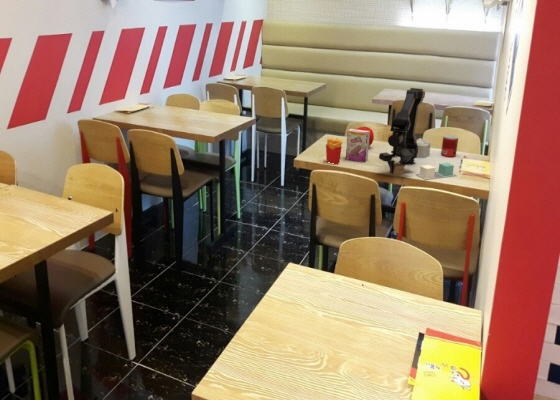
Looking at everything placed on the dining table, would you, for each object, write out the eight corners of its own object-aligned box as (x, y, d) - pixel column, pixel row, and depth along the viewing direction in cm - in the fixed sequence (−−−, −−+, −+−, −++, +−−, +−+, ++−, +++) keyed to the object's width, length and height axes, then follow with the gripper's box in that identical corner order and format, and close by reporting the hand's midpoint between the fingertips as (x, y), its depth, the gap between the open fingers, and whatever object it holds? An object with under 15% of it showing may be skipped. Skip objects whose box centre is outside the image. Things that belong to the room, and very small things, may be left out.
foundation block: (419, 175, 266) (420, 165, 264) (428, 174, 267) (429, 164, 265) (425, 178, 261) (426, 168, 259) (434, 177, 263) (435, 167, 261)
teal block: (446, 172, 271) (447, 162, 269) (452, 175, 267) (453, 165, 265) (438, 173, 269) (439, 163, 267) (444, 176, 265) (445, 166, 263)
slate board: (414, 175, 267) (414, 174, 267) (446, 171, 273) (446, 170, 273) (425, 181, 259) (425, 180, 259) (457, 177, 266) (457, 176, 265)
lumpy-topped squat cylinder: (406, 155, 299) (408, 140, 296) (414, 150, 309) (415, 135, 306) (424, 158, 294) (426, 143, 291) (432, 153, 304) (433, 138, 301)
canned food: (456, 157, 296) (459, 138, 292) (441, 157, 297) (443, 137, 293) (455, 154, 303) (457, 135, 299) (440, 153, 304) (442, 134, 300)
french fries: (324, 162, 287) (324, 138, 282) (328, 160, 290) (329, 136, 285) (338, 165, 281) (339, 141, 277) (342, 163, 284) (344, 139, 280)
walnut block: (389, 173, 271) (390, 163, 269) (398, 172, 273) (398, 162, 271) (394, 176, 267) (395, 166, 265) (403, 175, 268) (404, 165, 266)
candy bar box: (345, 160, 290) (347, 130, 284) (348, 157, 295) (349, 128, 289) (365, 162, 286) (367, 132, 280) (368, 160, 290) (370, 130, 284)
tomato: (350, 146, 315) (351, 125, 310) (365, 144, 320) (367, 123, 315) (360, 151, 306) (362, 129, 301) (376, 149, 310) (378, 127, 305)
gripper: (391, 147, 253) (389, 179, 259) (425, 144, 259) (421, 174, 265) (379, 141, 263) (377, 172, 269) (412, 138, 269) (409, 168, 275)
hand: (396, 171), depth 269 cm, fingers closed on walnut block, 5 cm apart
